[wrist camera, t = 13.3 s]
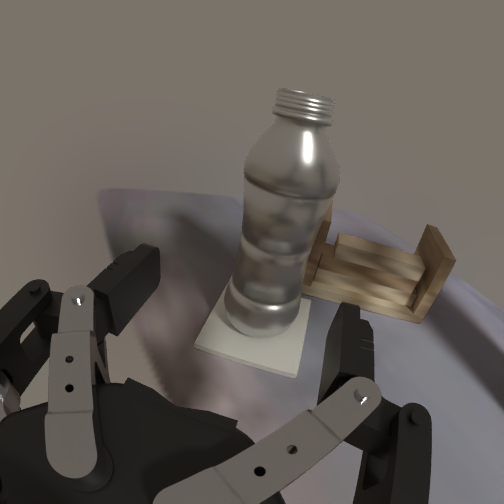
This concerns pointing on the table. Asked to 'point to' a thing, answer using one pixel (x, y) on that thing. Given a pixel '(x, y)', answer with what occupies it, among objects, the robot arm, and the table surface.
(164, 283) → the table surface
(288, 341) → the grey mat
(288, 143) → the plastic bottle
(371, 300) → the offcut rack
